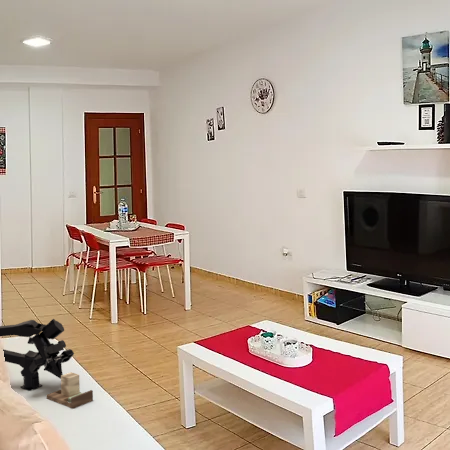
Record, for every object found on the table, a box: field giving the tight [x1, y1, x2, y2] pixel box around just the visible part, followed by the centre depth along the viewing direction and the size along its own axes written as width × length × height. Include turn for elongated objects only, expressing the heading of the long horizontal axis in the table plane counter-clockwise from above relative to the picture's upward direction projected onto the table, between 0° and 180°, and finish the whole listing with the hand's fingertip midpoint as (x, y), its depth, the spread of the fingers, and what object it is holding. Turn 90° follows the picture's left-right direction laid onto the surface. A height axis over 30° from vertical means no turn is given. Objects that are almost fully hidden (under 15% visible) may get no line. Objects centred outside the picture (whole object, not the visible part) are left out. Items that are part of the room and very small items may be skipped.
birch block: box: [60, 371, 81, 397], centre depth 230 cm, size 5×5×8 cm
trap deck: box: [46, 389, 94, 409], centre depth 228 cm, size 16×10×4 cm, turn 53°
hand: (61, 377), depth 233 cm, fingers closed
